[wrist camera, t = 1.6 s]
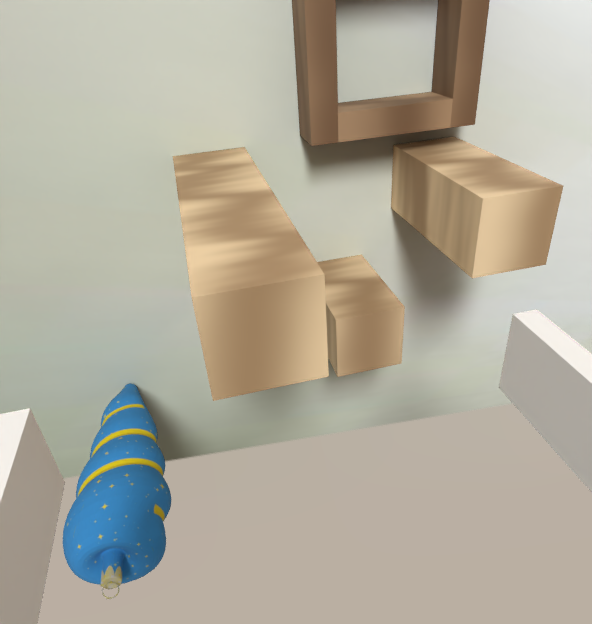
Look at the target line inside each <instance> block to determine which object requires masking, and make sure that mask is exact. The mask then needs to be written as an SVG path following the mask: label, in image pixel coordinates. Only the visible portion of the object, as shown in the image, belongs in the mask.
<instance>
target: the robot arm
mask: <svg viewBox="0 0 592 624" xmlns="http://www.w3.org/2000/svg"><path fill="white" fill-rule="evenodd" d="M499 388H500V389H501V391H502V392H503V393H504V394H505V395H506V396H507V397H508V399H509V400H510V401H511V402H512V403H513V404H514V405H515V406H516V408H517V409H518V410H519V411H520V412H521V413H522V414H523V416H524V417H525V418H526V419H527V420H528V421H529V422H530V423H531V424H532V426H533V427H534V428H535V429H536V430H537V431H538V432H539V434H540V435H541V436H542V437H543V438H544V439H545V440H546V442H547V443H548V444H549V445H550V446H551V447H552V448H553V449H554V451H555V452H556V453H557V454H558V455H559V456H560V457H561V458H562V460H563V461H564V462H565V463H566V464H567V465H568V466H569V468H570V469H571V470H572V471H573V472H574V473H575V474H576V476H577V477H578V478H579V479H580V480H581V481H582V482H583V483H584V485H585V486H586V487H587V488H588V489H589V490H590V491H591V492H592V354H591V353H590V352H589V351H588V350H586V349H585V348H584V347H583V346H581V345H580V344H579V343H578V342H576V341H575V340H574V339H573V338H572V337H570V336H569V335H568V334H567V333H565V332H564V331H563V330H562V329H560V328H559V327H558V326H557V325H556V324H554V323H553V322H552V321H551V320H549V319H548V318H547V317H546V316H544V315H543V314H542V313H541V312H539V311H538V310H537V309H536V310H531V311H526V312H521V313H516V314H513V316H512V321H511V326H510V331H509V337H508V342H507V347H506V352H505V357H504V363H503V368H502V373H501V378H500V384H499ZM64 485H65V482H64V479H63V477H62V475H61V473H60V471H59V469H58V467H57V465H56V462H55V460H54V458H53V456H52V454H51V452H50V450H49V447H48V445H47V443H46V441H45V439H44V437H43V435H42V433H41V430H40V428H39V426H38V424H37V422H36V420H35V418H34V415H33V413H32V411H31V409H30V408H29V409H24V410H19V411H14V412H9V413H4V414H0V624H37V623H38V618H39V613H40V608H41V602H42V598H43V593H44V587H45V582H46V577H47V572H48V567H49V562H50V557H51V551H52V546H53V541H54V536H55V531H56V526H57V521H58V516H59V511H60V505H61V500H62V495H63V490H64Z"/></svg>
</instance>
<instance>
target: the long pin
mask: <svg viewBox="0 0 592 624" xmlns="http://www.w3.org/2000/svg"><path fill="white" fill-rule="evenodd" d="M173 161H174V169H175V176H176V184H177V191H178V199H179V206H180V213H181V221H182V228H183V236H184V243H185V251H186V258H187V266H188V273H189V281H190V288H191V296H192V301H193V306H194V311H195V316H196V321H197V325H198V330H199V335H200V340H201V345H202V350H203V355H204V359H205V364H206V369H207V374H208V379H209V384H210V388H211V393H212V398H213V401H215V400H219V399H224V398H229V397H234V396H238V395H243V394H248V393H253V392H257V391H262V390H267V389H272V388H276V387H281V386H286V385H291V384H295V383H300V382H305V381H310V380H314V379H319V378H324V377H329V372H328V348H327V323H326V299H325V275H324V273H323V271H322V270H321V268H320V266H319V265H318V263H317V262H316V260H315V258H314V257H313V255H312V254H311V252H310V250H309V249H308V247H307V246H306V244H305V243H304V241H303V239H302V238H301V236H300V235H299V233H298V231H297V230H296V228H295V227H294V225H293V223H292V222H291V220H290V219H289V217H288V215H287V214H286V212H285V211H284V209H283V208H282V206H281V204H280V203H279V201H278V200H277V198H276V196H275V195H274V193H273V192H272V190H271V188H270V187H269V185H268V184H267V182H266V181H265V179H264V177H263V176H262V174H261V173H260V171H259V169H258V168H257V166H256V165H255V163H254V161H253V160H252V158H251V157H250V155H249V154H248V152H247V150H246V149H245V147H242V148H234V149H226V150H219V151H211V152H203V153H195V154H188V155H180V156H173Z"/></svg>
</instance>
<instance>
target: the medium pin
mask: <svg viewBox="0 0 592 624" xmlns="http://www.w3.org/2000/svg"><path fill="white" fill-rule="evenodd" d="M562 189H563V186H562V185H560V184H558V183H556V182H554V181H551V180H549V179H547V178H545V177H542V176H540V175H538V174H536V173H534V172H531V171H529V170H527V169H525V168H523V167H520V166H518V165H516V164H514V163H511V162H509V161H507V160H505V159H503V158H500V157H498V156H496V155H494V154H492V153H489V152H487V151H485V150H483V149H481V148H478V147H476V146H474V145H472V144H469V143H467V142H465V141H463V140H461V139H458V138H456V137H448V138H440V139H433V140H426V141H418V142H411V143H404V144H396V145H393V171H392V198H391V208H392V209H393V210H394V211H395V212H396V213H398V214H399V215H400V216H401V217H402V218H403V219H405V220H406V221H407V222H408V223H409V224H410V225H411V226H413V227H414V228H415V229H416V230H417V231H418V232H419V233H421V234H422V235H423V236H424V237H425V238H426V239H428V240H429V241H430V242H431V243H432V244H433V245H434V246H436V247H437V248H438V249H439V250H440V251H441V252H442V253H444V254H445V255H446V256H447V257H448V258H449V259H451V260H452V261H453V262H454V263H455V264H456V265H457V266H459V267H460V268H461V269H462V270H463V271H464V272H465V273H467V274H468V275H469V276H470V277H471V278H476V277H481V276H487V275H492V274H497V273H503V272H508V271H514V270H519V269H524V268H530V267H535V266H540V265H546V261H547V256H548V252H549V247H550V243H551V238H552V234H553V229H554V225H555V220H556V216H557V212H558V207H559V203H560V198H561V194H562Z"/></svg>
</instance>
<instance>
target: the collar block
mask: <svg viewBox="0 0 592 624" xmlns="http://www.w3.org/2000/svg"><path fill="white" fill-rule="evenodd" d="M292 9H293V26H294V42H295V59H296V76H297V92H298V109H299V126H300V136H301V137H302V138H303V139H304V140H306V141H307V142H308V143H309V144H310V145H311V146H315V145H323V144H330V143H338V142H345V141H353V140H360V139H368V138H376V137H383V136H391V135H398V134H406V133H413V132H421V131H429V130H436V129H444V128H451V127H459V126H467V125H474V124H475V118H476V110H477V101H478V93H479V84H480V76H481V67H482V59H483V51H484V42H485V34H486V25H487V17H488V9H489V0H438V12H437V26H436V40H435V54H434V68H433V81H432V92H427V93H419V94H410V95H402V96H393V97H385V98H376V99H368V100H360V101H351V102H343V103H338V93H337V44H336V0H292Z"/></svg>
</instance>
